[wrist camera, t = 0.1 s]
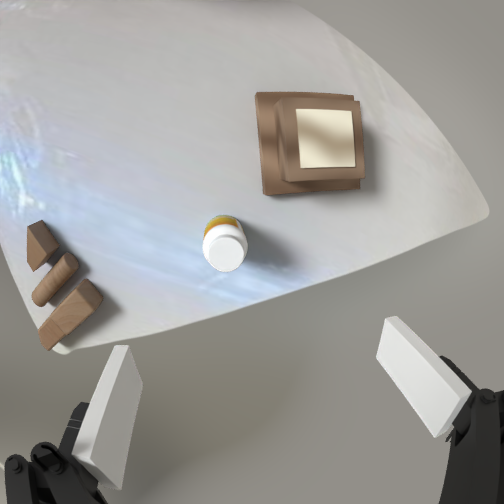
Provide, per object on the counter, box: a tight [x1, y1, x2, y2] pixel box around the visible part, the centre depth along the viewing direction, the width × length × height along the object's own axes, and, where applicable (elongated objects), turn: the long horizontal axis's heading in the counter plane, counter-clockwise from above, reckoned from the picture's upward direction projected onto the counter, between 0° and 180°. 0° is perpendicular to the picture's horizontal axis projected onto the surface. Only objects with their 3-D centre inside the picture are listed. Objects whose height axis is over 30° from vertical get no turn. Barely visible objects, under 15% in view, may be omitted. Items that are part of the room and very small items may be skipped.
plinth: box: [255, 92, 365, 195], centre depth 33 cm, size 14×14×7 cm
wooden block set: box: [27, 220, 103, 351], centre depth 36 cm, size 17×6×18 cm
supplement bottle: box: [203, 215, 248, 272], centre depth 34 cm, size 5×5×10 cm
